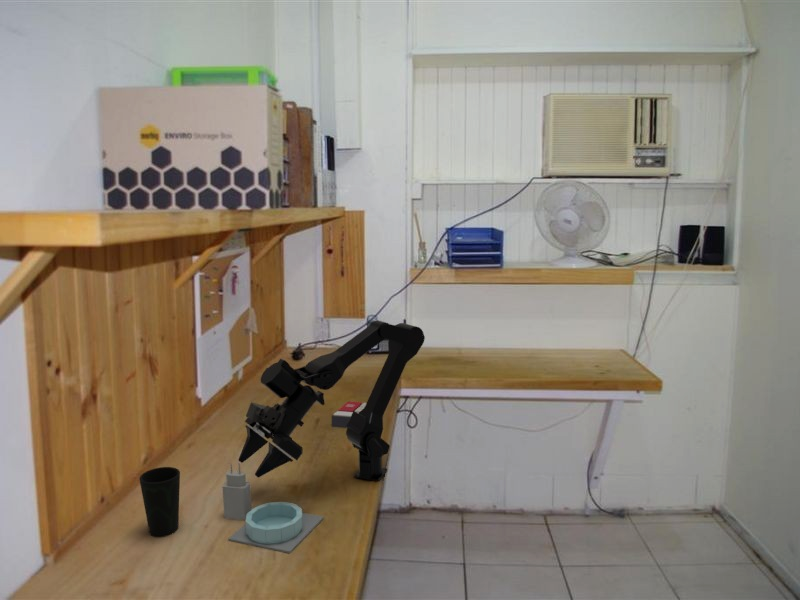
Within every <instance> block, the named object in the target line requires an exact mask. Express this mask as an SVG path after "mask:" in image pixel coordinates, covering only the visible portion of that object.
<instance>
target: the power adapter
mask: <svg viewBox="0 0 800 600" xmlns="http://www.w3.org/2000/svg"><path fill="white" fill-rule="evenodd" d="M240 463H241V462H238V471H237V470H233V463H232V462H230V471H228V472H227V471H226V472H225V479H226V481H225V482H224V483H223V484H222V485H221V486H222V502H223V503H222V505H223V518H224V519H226V518H229V519H228V520H236V519H238V520H237V521H246V516H247V513H249V512H250V511H251V510H252V496H251V494H252V493H251V482H250V481H247V480H246V479H247V478H246V472H244V471H241V464H240Z"/></svg>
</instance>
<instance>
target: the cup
mask: <svg viewBox="0 0 800 600" xmlns="http://www.w3.org/2000/svg"><path fill="white" fill-rule="evenodd" d="M180 478H181V472H180V470H179V469H178V468H176V467H174V466H161V467H156V468H153V469H149V470H147V471H145V472H143V473H142V474H141V475H140V476H139V485H140V490H141V494H142V500H143V506H144V511H145V516H146V521H147V526H148V532H149V533H148V534H149V535H150V536H152V537H154V538H162V537H168V536H170V535H172V533H173V534H174V533H176V532H177V531H178V530H179V519H180V518H179V517H180V516H179V515H180V485H181V484H180V483H181V479H180Z"/></svg>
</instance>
